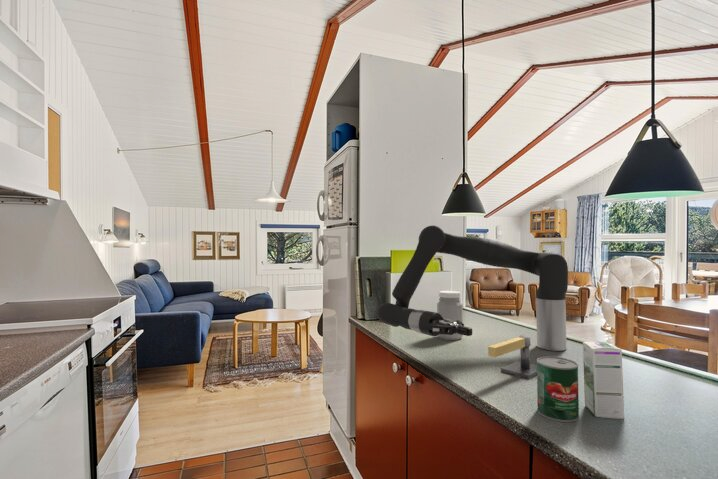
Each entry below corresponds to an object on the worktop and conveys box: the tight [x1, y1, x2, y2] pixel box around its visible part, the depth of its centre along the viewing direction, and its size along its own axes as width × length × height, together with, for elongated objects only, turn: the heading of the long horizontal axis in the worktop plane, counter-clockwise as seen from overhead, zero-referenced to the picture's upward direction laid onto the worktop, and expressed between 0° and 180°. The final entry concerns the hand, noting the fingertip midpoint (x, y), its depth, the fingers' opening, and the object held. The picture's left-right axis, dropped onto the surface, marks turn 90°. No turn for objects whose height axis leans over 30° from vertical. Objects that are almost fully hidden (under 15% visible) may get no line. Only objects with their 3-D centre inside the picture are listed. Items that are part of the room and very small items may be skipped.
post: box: [500, 346, 537, 380], centre depth 106 cm, size 10×8×7 cm
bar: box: [487, 335, 531, 358], centre depth 102 cm, size 18×3×2 cm, turn 128°
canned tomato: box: [536, 356, 580, 423], centre depth 79 cm, size 8×8×11 cm
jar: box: [436, 290, 464, 341], centre depth 146 cm, size 10×10×18 cm
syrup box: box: [582, 341, 625, 420], centre depth 80 cm, size 6×6×14 cm
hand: (470, 332), depth 108 cm, fingers closed
